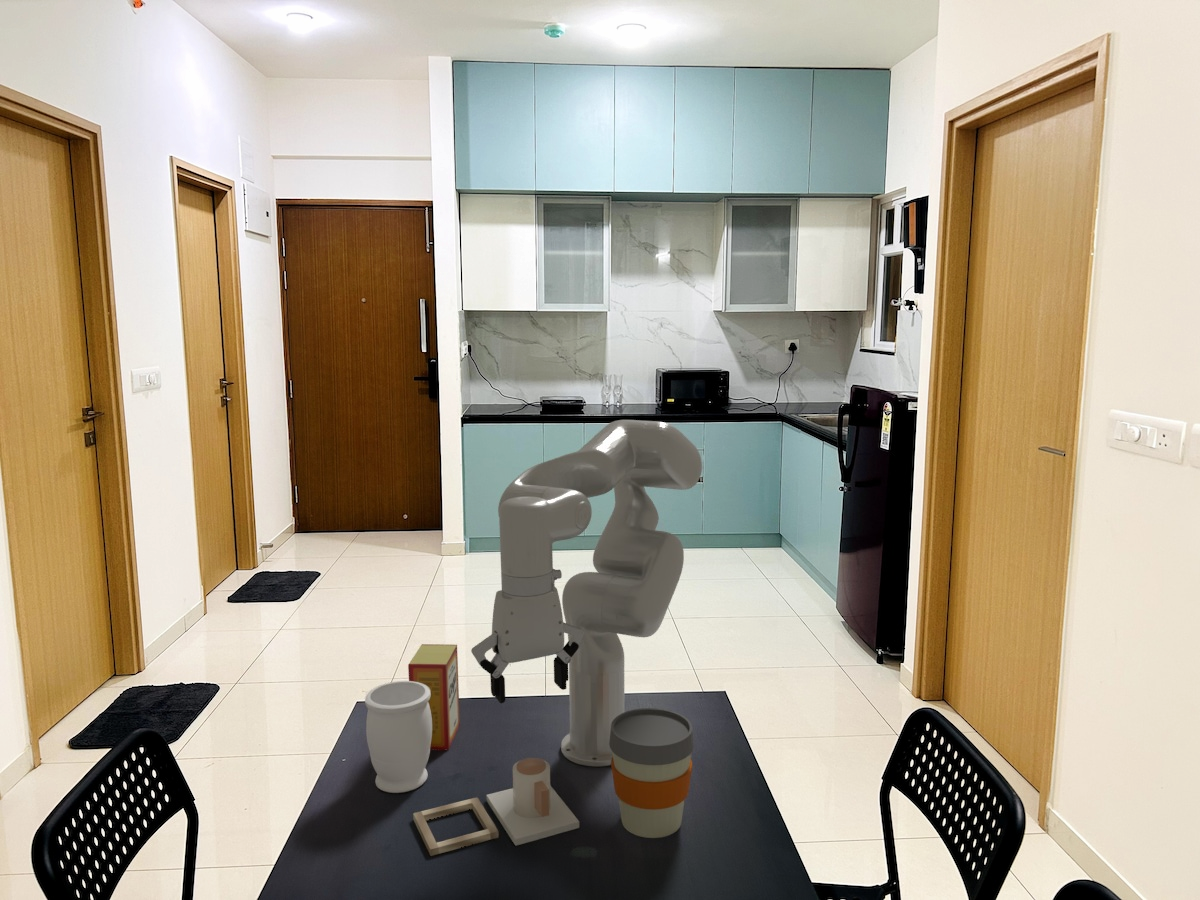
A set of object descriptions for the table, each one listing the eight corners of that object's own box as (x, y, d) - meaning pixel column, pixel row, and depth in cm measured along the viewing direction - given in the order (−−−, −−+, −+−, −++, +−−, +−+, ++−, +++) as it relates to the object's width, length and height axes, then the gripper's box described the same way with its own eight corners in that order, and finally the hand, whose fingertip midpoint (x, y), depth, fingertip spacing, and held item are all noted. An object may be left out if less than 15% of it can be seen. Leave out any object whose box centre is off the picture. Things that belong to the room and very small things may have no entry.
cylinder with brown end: (508, 802, 132) (507, 760, 131) (542, 794, 135) (541, 752, 134) (527, 831, 125) (526, 786, 124) (563, 821, 127) (562, 777, 126)
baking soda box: (424, 724, 160) (421, 642, 158) (459, 725, 160) (457, 642, 158) (411, 749, 151) (408, 662, 149) (448, 750, 151) (445, 663, 148)
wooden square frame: (477, 803, 134) (477, 797, 134) (498, 837, 125) (498, 831, 125) (413, 819, 130) (413, 813, 130) (430, 856, 121) (430, 849, 121)
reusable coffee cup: (619, 850, 122) (619, 751, 120) (602, 802, 134) (601, 711, 132) (704, 839, 124) (705, 742, 122) (679, 793, 137) (680, 703, 134)
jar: (418, 801, 135) (414, 710, 133) (357, 794, 137) (352, 705, 135) (443, 766, 145) (440, 682, 143) (386, 761, 147) (382, 677, 145)
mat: (545, 785, 139) (545, 779, 139) (579, 827, 128) (579, 821, 127) (486, 800, 135) (486, 794, 135) (515, 845, 123) (515, 839, 123)
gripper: (571, 567, 133) (573, 672, 136) (462, 583, 125) (466, 694, 128) (592, 580, 126) (593, 690, 129) (478, 599, 119) (482, 715, 122)
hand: (530, 692), depth 129 cm, fingers open, 9 cm apart
